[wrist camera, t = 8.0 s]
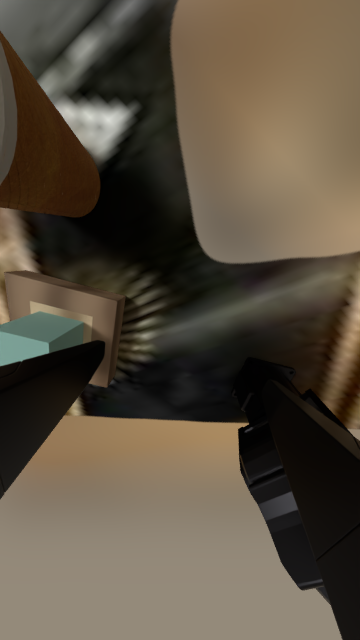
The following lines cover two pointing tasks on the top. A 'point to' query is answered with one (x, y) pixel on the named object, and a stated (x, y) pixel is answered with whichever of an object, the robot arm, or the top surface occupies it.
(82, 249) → the top surface
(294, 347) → the top surface
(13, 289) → the walnut base
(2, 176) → the disposable coffee cup
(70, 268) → the top surface
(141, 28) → the top surface
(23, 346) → the teal cube
